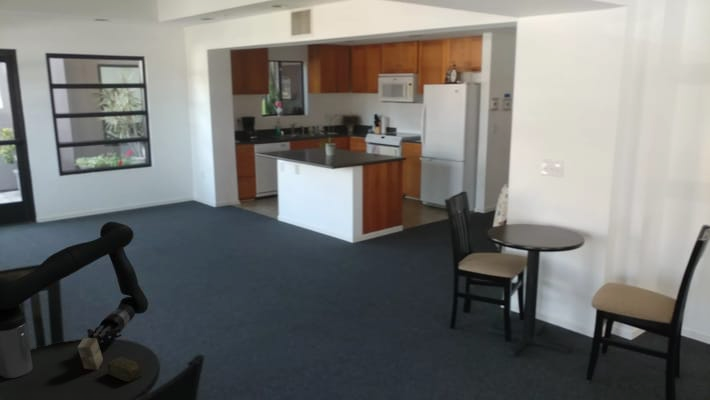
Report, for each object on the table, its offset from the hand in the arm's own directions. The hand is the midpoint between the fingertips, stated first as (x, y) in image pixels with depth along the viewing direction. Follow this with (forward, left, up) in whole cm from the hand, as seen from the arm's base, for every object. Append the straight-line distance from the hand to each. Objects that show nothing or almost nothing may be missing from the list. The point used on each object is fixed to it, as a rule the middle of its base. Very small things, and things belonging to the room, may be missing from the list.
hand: (92, 344), depth 192 cm
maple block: (0, -1, -8) cm, 8 cm away
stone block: (+14, -6, -9) cm, 17 cm away
